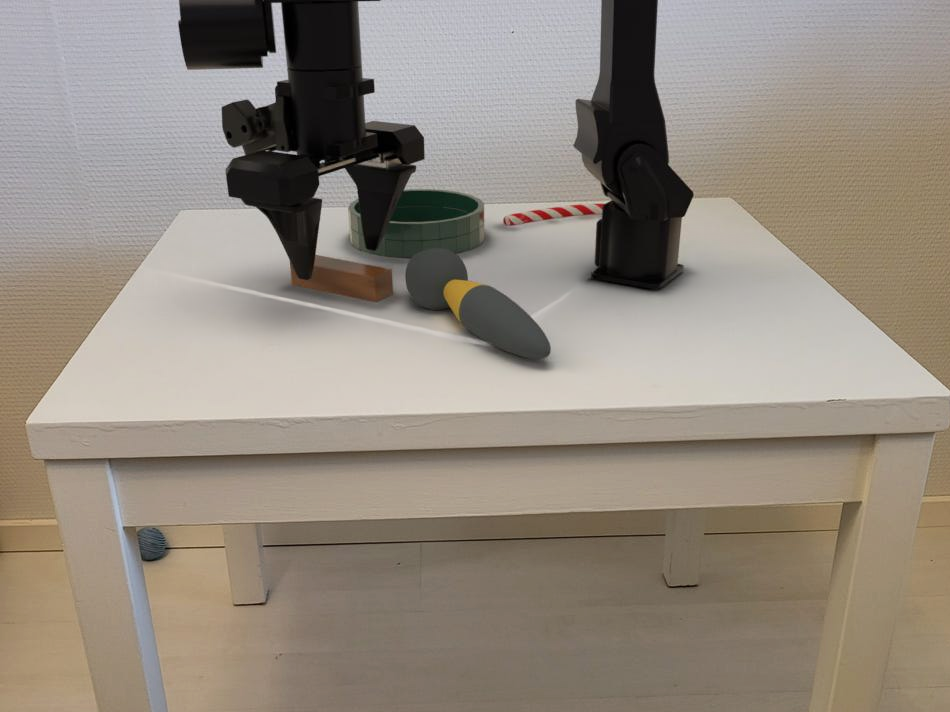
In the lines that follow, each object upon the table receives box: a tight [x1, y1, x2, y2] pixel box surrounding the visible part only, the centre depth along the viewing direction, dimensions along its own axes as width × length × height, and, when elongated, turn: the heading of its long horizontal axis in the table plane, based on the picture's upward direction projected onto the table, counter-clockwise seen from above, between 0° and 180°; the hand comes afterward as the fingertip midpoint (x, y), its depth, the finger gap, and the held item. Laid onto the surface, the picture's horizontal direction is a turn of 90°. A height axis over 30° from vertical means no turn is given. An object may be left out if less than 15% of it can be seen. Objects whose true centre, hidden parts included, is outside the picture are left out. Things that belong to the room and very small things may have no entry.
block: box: [289, 254, 394, 303], centre depth 84 cm, size 9×2×2 cm, turn 59°
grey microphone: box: [404, 248, 552, 360], centre depth 76 cm, size 20×5×5 cm, turn 38°
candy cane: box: [502, 203, 605, 226], centre depth 103 cm, size 8×1×15 cm
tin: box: [347, 188, 485, 259], centre depth 97 cm, size 13×13×4 cm
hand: (339, 263), depth 84 cm, fingers open, 9 cm apart
